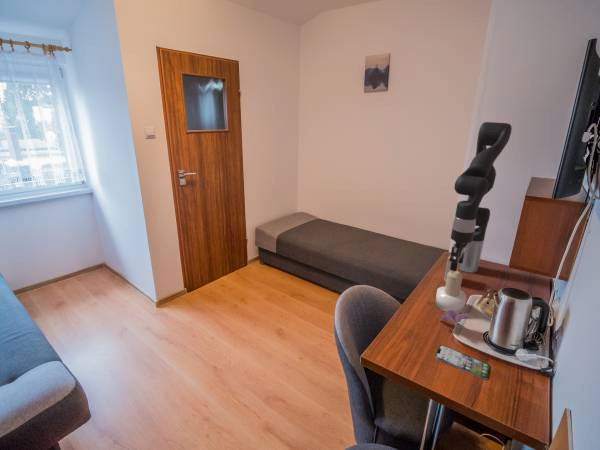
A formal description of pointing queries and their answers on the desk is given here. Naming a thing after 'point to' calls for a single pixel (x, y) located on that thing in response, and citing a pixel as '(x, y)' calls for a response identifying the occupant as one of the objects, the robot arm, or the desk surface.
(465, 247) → the robot arm
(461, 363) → the smartphone
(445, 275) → the supplement box
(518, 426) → the desk surface
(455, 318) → the lily
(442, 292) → the glossy white dome
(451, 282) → the candle
